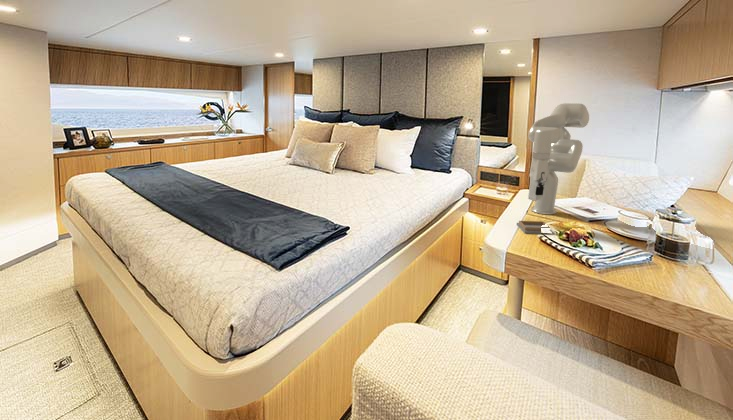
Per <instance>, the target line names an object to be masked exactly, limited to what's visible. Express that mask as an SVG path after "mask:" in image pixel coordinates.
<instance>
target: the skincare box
mask: <svg viewBox="0 0 733 420" xmlns="http://www.w3.org/2000/svg"><path fill="white" fill-rule="evenodd" d="M529 179H530V180H529V188H528V197H527V199H528V200H530V201H533V202H535V201H537V200H541V199H543V195H536V194H535V193H536V187H537V181H534V180H533V175H531V178H530V177H529ZM539 180H542V179H539ZM539 184H540V182H539ZM544 186H545V184H544ZM543 194H544V189H543Z"/></svg>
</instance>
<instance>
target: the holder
mask: <svg viewBox="0 0 733 420" xmlns="http://www.w3.org/2000/svg"><path fill="white" fill-rule="evenodd" d="M545 224H547V223H546V222H545V221H541V220H540V221H539V220H537V221H536V220H518V222H516V226H517V227H518V228H519V229H520V231H522V232H523V233H524V234H528V235H529V234H530V235H534V234H535V235H542V234H541V228H550V227H551V226H550V227H549V225H548V227H541V226H542V225H545Z"/></svg>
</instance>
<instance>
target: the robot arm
mask: <svg viewBox="0 0 733 420" xmlns="http://www.w3.org/2000/svg"><path fill="white" fill-rule="evenodd" d="M589 121H590V114H589V111H588V107H587V106H586V105H585V104H583V103H575V102H574V103H566V102H565V103H560V104H557V106H555V108H554V109H553V110H552V112H551V113H550V115H547V116H545V117H543V118H541V119H538V120H536V121H535V122H534V123H533V124H532V126H531V127H530V129H529V131H528V133H527V135H528V136H527V138H528V140H529V141H530V142H531V143H533V145H532V146H533V147H532V156H531V159H532V160H531V162H530V163H531V164H530V168H529V169H530V170H529V174H528V176H529V179H530V178H531V175H533V180H534V181H537V187H536V193H535V194H536V195H543V199H541V200H537V201H534V206H531V207H530V211H531V212H533V213H535V214H541V215H556V214H557V212H558V210H557V209H555V203H556V198H557V192H558V185H559V177H558V175H557V173H556V172H558V173H559V172H560V173H569V174H571V173H573V172H574V171H575V170H576V169H577V166H578V164H579V160H580V158H581V156H582V152H583V148H584V147H583V142H582V141H581V140H579V139H572V137H571V133H570V132H569V131H568V130H567V128H581V129H582V128H585V127H587V126H588V124H589ZM539 179H542V180H539ZM539 182H540V184H539ZM544 184H545V186H544ZM543 189H544V194H543Z"/></svg>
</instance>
